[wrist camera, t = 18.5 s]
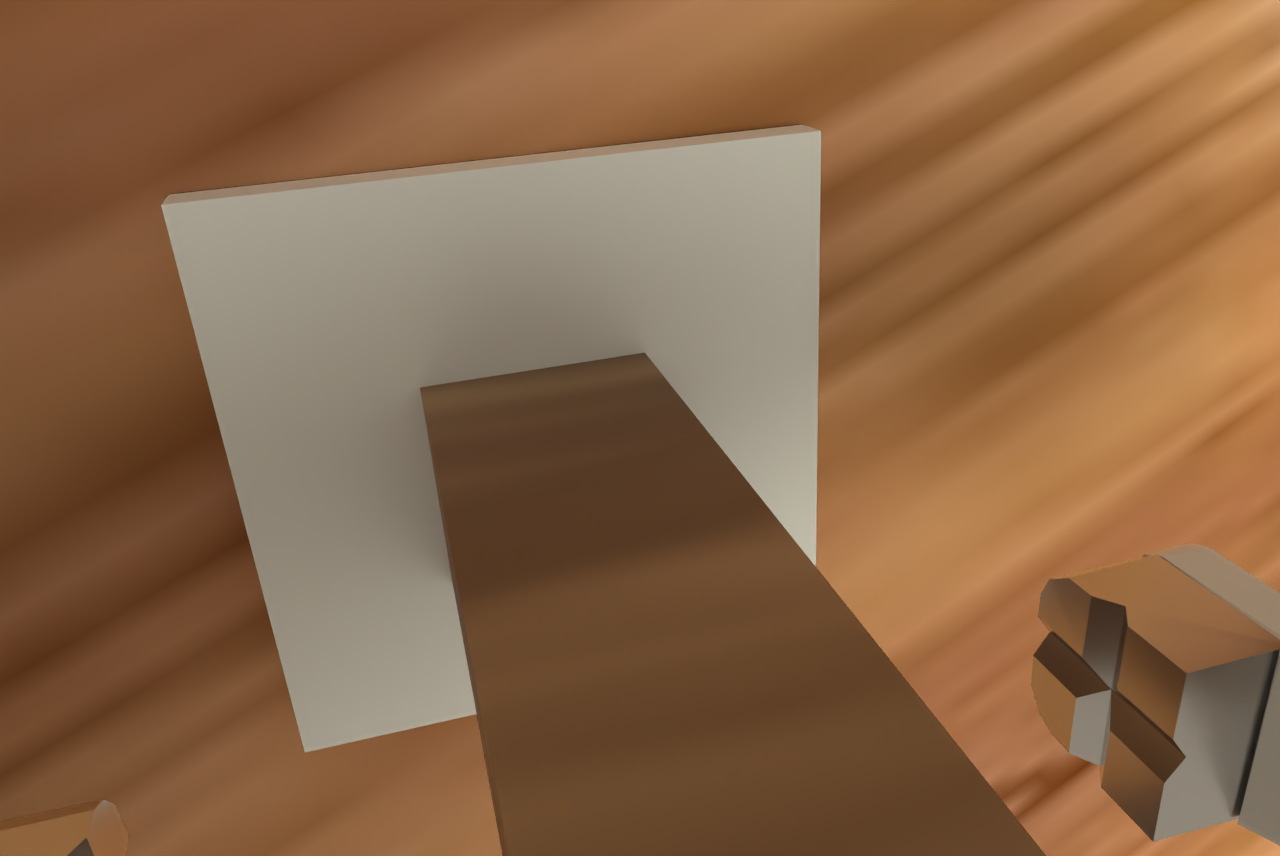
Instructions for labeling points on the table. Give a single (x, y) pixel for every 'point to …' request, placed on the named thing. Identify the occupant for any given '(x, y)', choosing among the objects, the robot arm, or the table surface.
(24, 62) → the table surface
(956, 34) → the table surface
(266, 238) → the pad
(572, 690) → the brown wooden beam
